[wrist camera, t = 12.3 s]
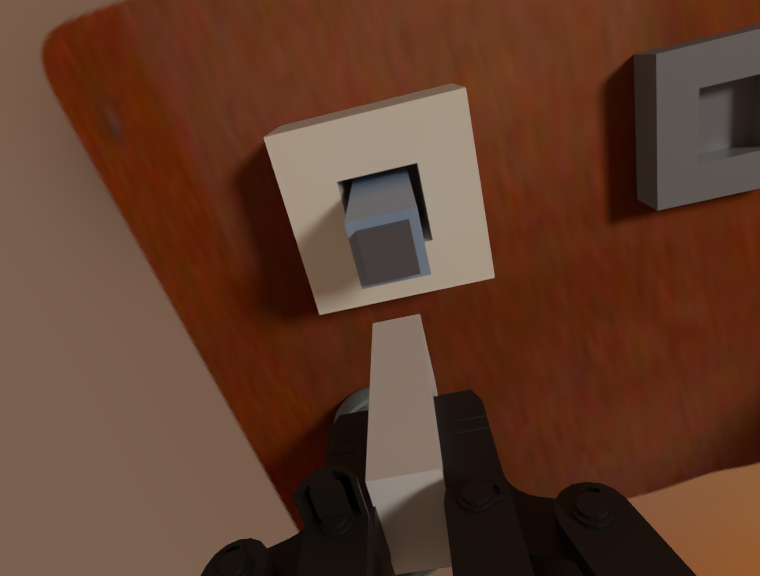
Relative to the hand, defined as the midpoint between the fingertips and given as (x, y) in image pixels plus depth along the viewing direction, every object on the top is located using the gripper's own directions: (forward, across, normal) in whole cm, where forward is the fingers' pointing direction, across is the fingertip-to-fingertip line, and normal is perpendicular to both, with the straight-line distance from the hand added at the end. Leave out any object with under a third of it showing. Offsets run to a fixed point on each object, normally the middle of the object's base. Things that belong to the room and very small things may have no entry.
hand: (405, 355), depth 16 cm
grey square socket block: (+23, -22, 0) cm, 32 cm away
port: (+23, +1, 0) cm, 23 cm away
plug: (+22, +1, 0) cm, 22 cm away
